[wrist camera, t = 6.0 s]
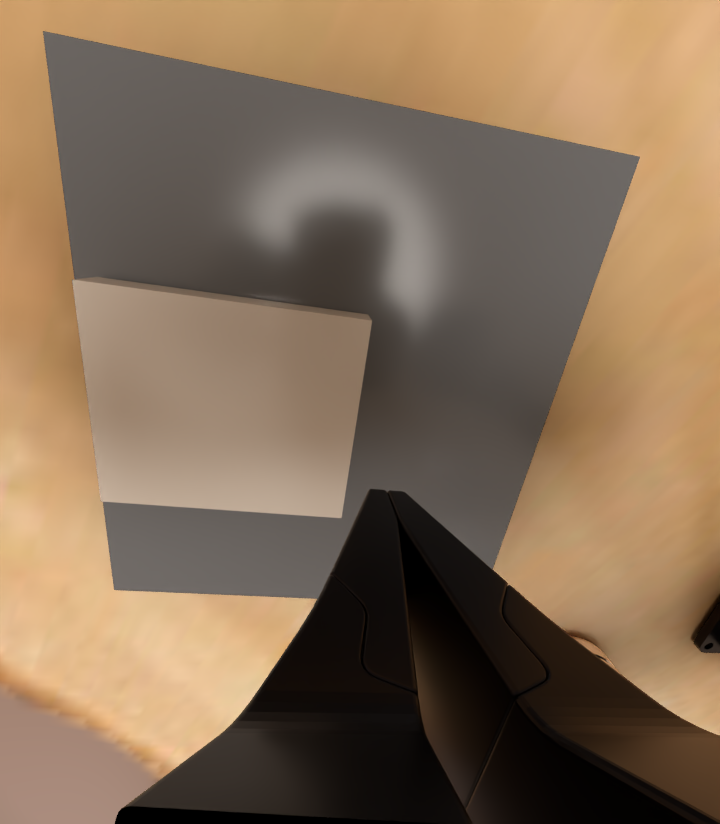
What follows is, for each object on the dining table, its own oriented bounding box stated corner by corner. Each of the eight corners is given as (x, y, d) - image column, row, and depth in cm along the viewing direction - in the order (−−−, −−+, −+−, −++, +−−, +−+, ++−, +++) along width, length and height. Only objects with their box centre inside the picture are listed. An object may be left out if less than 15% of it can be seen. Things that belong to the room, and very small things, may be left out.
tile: (341, 518, 14) (100, 501, 13) (340, 495, 15) (121, 478, 14) (372, 320, 11) (72, 279, 10) (367, 313, 12) (101, 276, 11)
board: (472, 588, 19) (479, 605, 18) (126, 571, 17) (114, 589, 16) (616, 164, 12) (640, 156, 11) (68, 50, 10) (42, 30, 9)
